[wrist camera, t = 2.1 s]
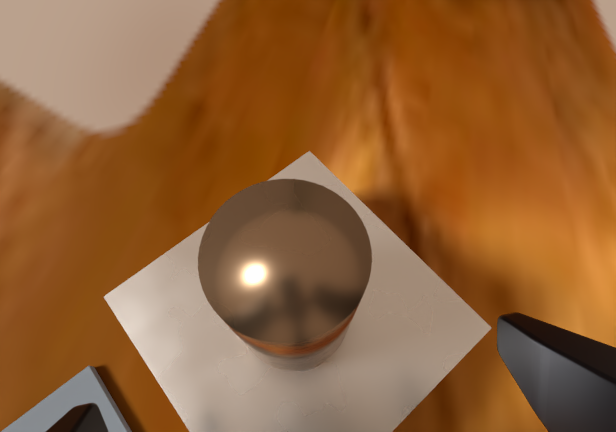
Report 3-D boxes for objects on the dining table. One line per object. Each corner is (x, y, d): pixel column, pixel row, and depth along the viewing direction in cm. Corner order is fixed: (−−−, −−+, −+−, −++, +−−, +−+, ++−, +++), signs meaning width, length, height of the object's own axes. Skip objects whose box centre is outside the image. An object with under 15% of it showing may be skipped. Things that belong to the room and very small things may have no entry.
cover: (448, 348, 19) (599, 276, 9) (281, 518, 16) (237, 679, 6) (309, 203, 22) (309, 36, 12) (150, 324, 20) (-12, 230, 10)
